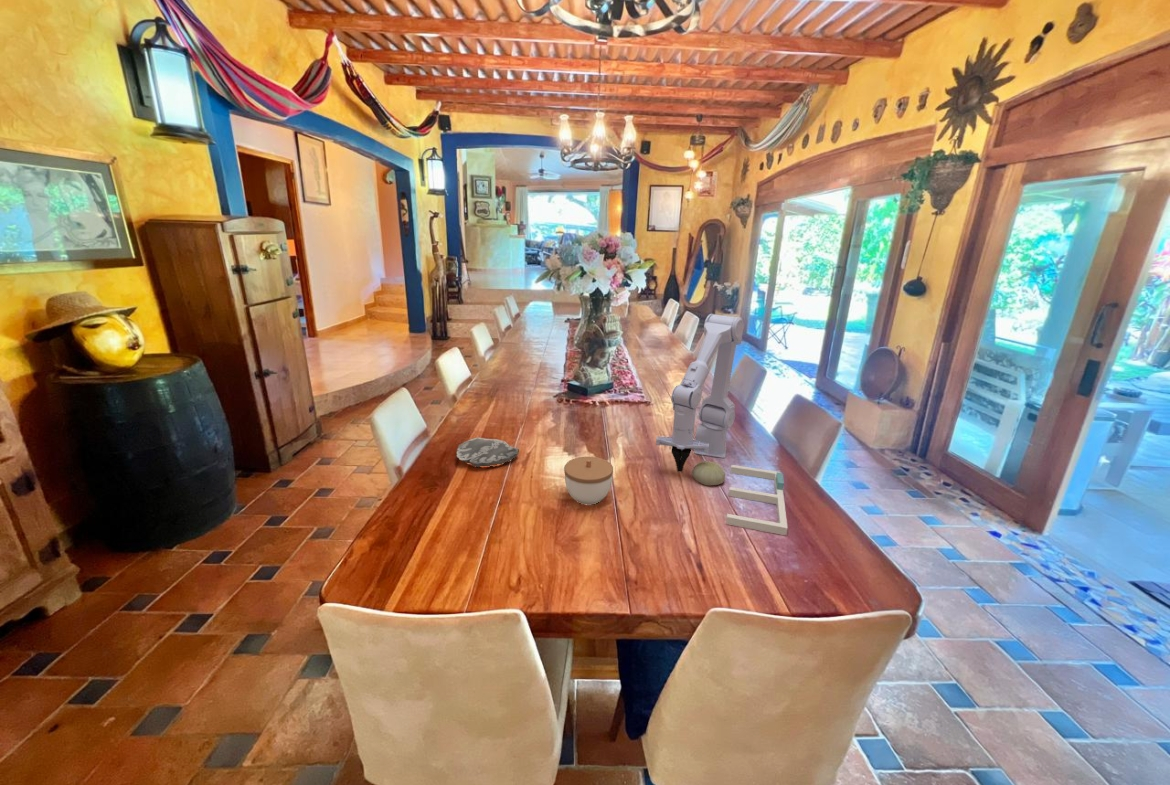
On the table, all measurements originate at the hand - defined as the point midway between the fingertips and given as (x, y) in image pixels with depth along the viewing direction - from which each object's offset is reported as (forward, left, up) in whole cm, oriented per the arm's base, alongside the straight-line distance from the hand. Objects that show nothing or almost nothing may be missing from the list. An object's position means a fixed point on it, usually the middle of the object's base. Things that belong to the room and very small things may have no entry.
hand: (679, 470), depth 135 cm
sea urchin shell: (+8, 0, -2) cm, 8 cm away
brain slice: (-58, -10, -2) cm, 59 cm away
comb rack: (+21, -7, -1) cm, 22 cm away
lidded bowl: (-21, -21, -2) cm, 30 cm away
